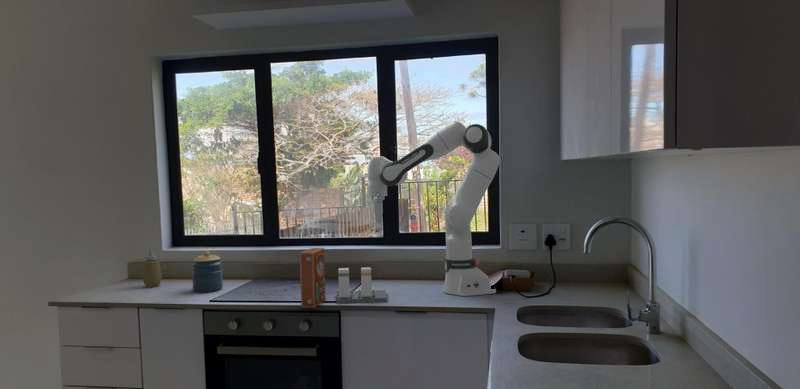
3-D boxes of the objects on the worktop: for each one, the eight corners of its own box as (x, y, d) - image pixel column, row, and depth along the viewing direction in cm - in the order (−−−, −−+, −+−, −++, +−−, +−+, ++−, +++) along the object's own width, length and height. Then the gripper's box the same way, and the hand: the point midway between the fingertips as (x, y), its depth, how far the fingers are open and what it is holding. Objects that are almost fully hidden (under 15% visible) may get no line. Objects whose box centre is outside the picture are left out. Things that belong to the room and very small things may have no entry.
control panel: (328, 299, 199) (314, 309, 184) (312, 298, 200) (297, 308, 186) (327, 247, 198) (313, 253, 183) (311, 247, 200) (296, 252, 185)
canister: (219, 285, 230) (218, 248, 230) (226, 290, 219) (225, 251, 219) (190, 289, 223) (188, 250, 222) (195, 294, 212) (194, 254, 212)
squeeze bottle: (163, 286, 229) (162, 248, 228) (144, 289, 224) (142, 250, 224) (160, 283, 236) (159, 247, 235) (141, 286, 231) (140, 248, 230)
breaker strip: (385, 293, 207) (384, 263, 207) (386, 301, 193) (386, 269, 193) (337, 295, 206) (336, 264, 205) (335, 303, 192) (334, 270, 191)
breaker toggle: (371, 294, 198) (370, 267, 198) (371, 296, 194) (371, 269, 194) (361, 294, 198) (360, 267, 198) (361, 296, 194) (360, 269, 194)
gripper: (385, 192, 211) (386, 224, 211) (383, 191, 231) (384, 220, 231) (370, 193, 210) (371, 224, 211) (370, 191, 231) (370, 220, 231)
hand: (378, 222), depth 221 cm, fingers closed
